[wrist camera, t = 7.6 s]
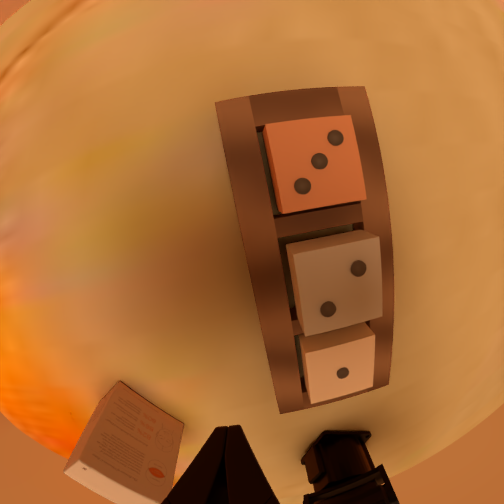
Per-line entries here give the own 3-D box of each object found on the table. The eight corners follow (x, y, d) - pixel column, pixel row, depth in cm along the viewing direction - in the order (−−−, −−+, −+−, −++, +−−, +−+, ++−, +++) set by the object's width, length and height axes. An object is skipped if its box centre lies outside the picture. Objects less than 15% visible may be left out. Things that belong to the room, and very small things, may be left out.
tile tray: (380, 372, 22) (388, 384, 20) (277, 399, 22) (280, 414, 20) (354, 94, 17) (364, 86, 15) (217, 111, 17) (214, 102, 15)
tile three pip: (350, 197, 17) (368, 199, 15) (277, 210, 17) (283, 214, 15) (336, 123, 16) (351, 114, 13) (262, 133, 16) (265, 123, 13)
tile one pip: (361, 368, 20) (373, 388, 18) (304, 383, 21) (311, 405, 18) (361, 318, 19) (376, 336, 17) (298, 334, 19) (305, 355, 17)
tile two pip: (366, 300, 18) (383, 317, 15) (297, 317, 18) (305, 338, 15) (361, 229, 17) (380, 237, 14) (285, 244, 17) (293, 255, 14)
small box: (98, 401, 23) (59, 471, 12) (120, 378, 22) (75, 459, 11) (158, 441, 24) (138, 515, 14) (186, 423, 23) (169, 509, 13)
